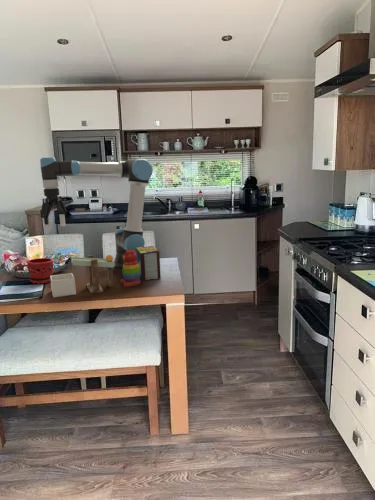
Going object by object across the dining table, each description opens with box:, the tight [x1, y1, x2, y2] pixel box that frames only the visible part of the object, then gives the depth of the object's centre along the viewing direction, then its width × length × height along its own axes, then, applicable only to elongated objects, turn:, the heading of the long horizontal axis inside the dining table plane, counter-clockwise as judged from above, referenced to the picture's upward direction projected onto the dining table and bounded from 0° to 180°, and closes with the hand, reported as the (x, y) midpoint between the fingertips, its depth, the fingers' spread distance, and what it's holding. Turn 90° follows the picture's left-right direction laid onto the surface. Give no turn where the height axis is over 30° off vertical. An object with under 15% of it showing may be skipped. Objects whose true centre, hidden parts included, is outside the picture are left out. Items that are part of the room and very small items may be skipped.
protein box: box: [136, 245, 162, 281], centre depth 209 cm, size 10×15×16 cm
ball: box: [105, 254, 114, 262], centre depth 192 cm, size 4×4×4 cm
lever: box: [67, 253, 115, 269], centre depth 193 cm, size 21×18×3 cm
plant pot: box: [26, 257, 54, 285], centre depth 205 cm, size 13×13×12 cm
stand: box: [85, 254, 115, 294], centre depth 191 cm, size 12×15×16 cm
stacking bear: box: [119, 250, 142, 288], centre depth 197 cm, size 11×10×18 cm
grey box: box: [50, 272, 77, 298], centre depth 185 cm, size 11×11×8 cm
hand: (56, 228), depth 202 cm, fingers open, 13 cm apart
